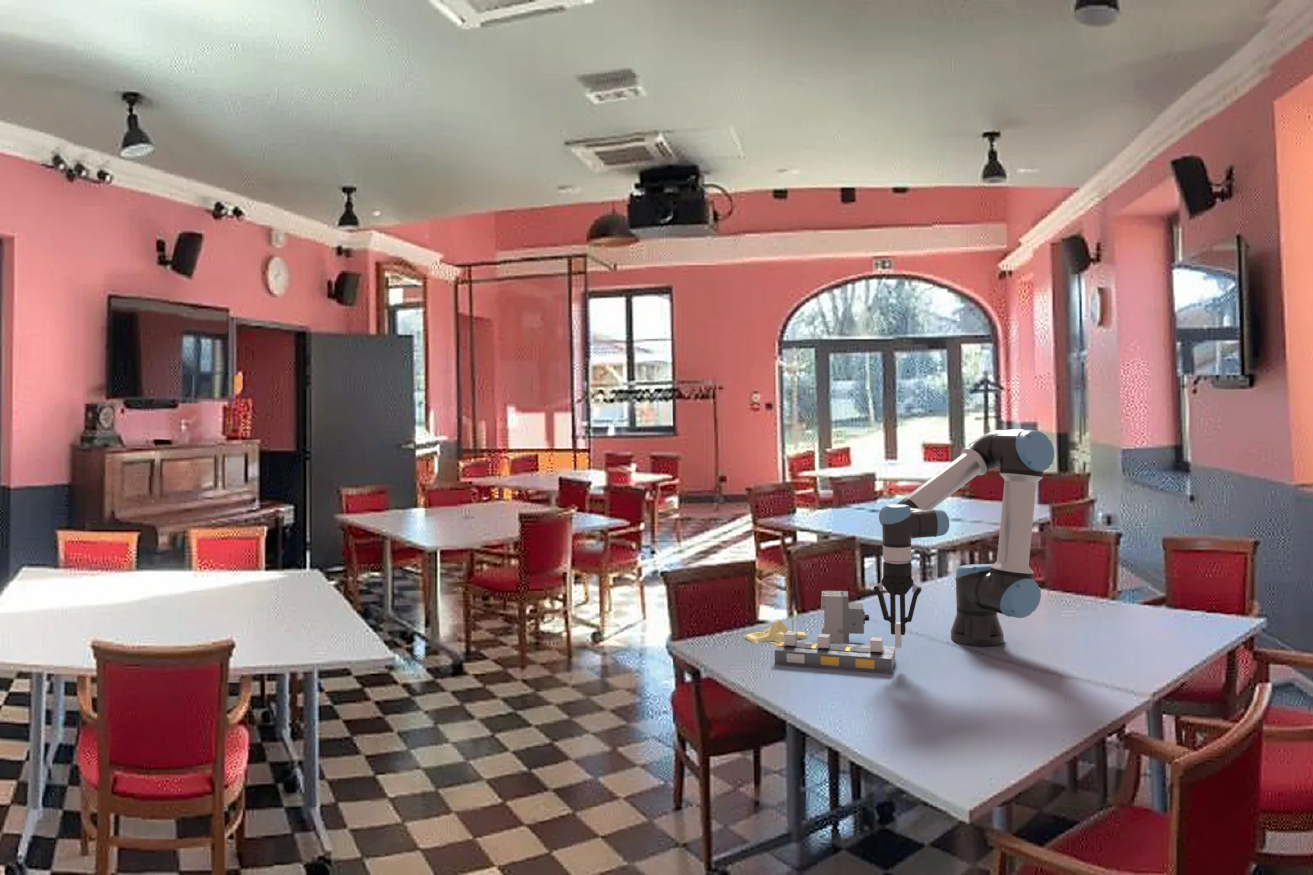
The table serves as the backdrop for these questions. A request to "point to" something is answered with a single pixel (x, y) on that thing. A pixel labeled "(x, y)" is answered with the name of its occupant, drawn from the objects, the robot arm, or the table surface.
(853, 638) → the table surface
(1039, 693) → the table surface
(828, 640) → the knob
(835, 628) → the circuit breaker
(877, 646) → the knob
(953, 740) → the table surface
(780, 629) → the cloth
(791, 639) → the knob
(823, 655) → the console
